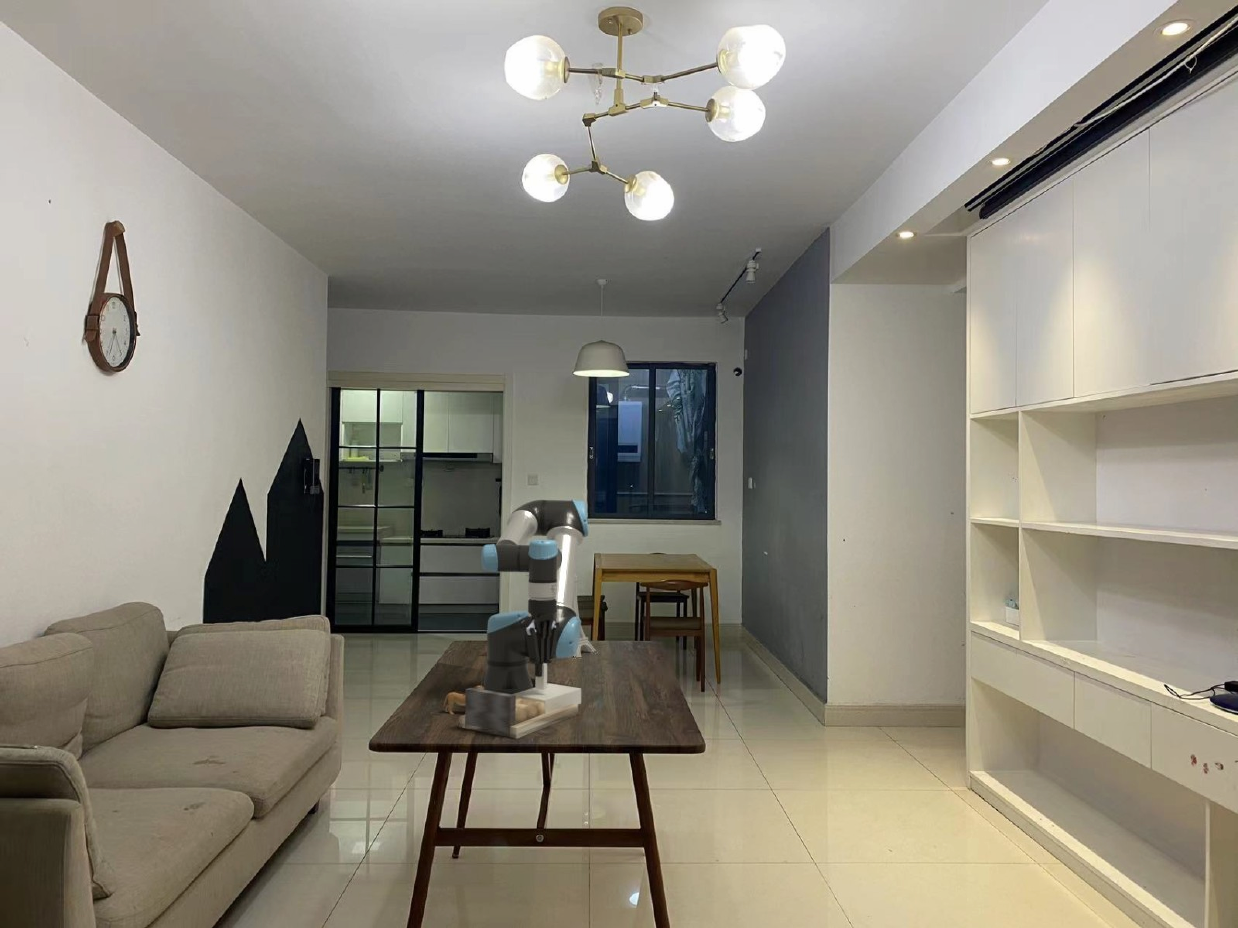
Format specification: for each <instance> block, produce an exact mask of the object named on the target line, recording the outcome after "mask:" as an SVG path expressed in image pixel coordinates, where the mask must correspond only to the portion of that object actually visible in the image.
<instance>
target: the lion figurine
mask: <svg viewBox="0 0 1238 928" xmlns="http://www.w3.org/2000/svg"><path fill="white" fill-rule="evenodd" d="M473 688H475V689H481V690H484V688H483V687H482V686H481V685H475V686H474V687H473ZM465 693H466V692H464V693H457V692H456V691H453V692H449V693H447V695H446V696H445V700H444V702H443V704H442V705H443V706H442V708H441V709H439V711H438V713H441V712H443V711H444V712H449V715H455V713H454V712H453V711H452V708H453V706H454V704H455V703H456V704H457V705H458V706H461V707H462V706H464V707H465ZM447 701H448V702H447Z"/></svg>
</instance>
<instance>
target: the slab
mask: <svg viewBox="0 0 1238 928" xmlns="http://www.w3.org/2000/svg"><path fill="white" fill-rule="evenodd" d="M512 695H516V698H520V699H526V700H532V701H537V702H542V703H544V705H545V713H544V714H546V713H549V712H552V711H554V710H557V709H560V708H562V707H565V706H568V705H571V704H575V705H578V706H579V705H581V704H582V687H580V688H579V687H575V686H574V687H573V686H568V685H561V684H556V683H549V682H547V689H544V690H543V689H536V688H535V687H533V688H532V689H528V690H525V691H522V692H519V693H515V694H512Z"/></svg>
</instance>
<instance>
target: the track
mask: <svg viewBox="0 0 1238 928" xmlns="http://www.w3.org/2000/svg"><path fill="white" fill-rule="evenodd" d="M464 693H465V706H464V710H465V711H464V715H460V716H458V728H461V727H462V729H466V730H471V729H472V731H475V732H481V733H487V734H491V735H496V736H501V737H507V738H511V739H519V738H522V737H524V736H527V735H529V734H532V733H534V732H537V731H540V730H543V729H545V728H548V727H550V726H552V725H556V724H558V723H560V722H563V721H565V720H568V719H570V718H573V717H576V716H578V715H579V704H578V705H575V704H571V705H568V706H565V707H562V708H560V709H557V710H554V711H552V712H549V713H546V714H543V715H541V716H538V717H535V718H532V719H530V720H527V721H524V722H522V723H519V724H516V725H515V711H516V695H511V694H505V693H499V692H493V691H487V690H481V689H475V688H474V687H468V688H465V692H464Z"/></svg>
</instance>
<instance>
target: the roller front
mask: <svg viewBox="0 0 1238 928" xmlns="http://www.w3.org/2000/svg"><path fill="white" fill-rule="evenodd" d="M526 720H527V713H526V711H525V710H521V709H516V711H515V725H516V724H519V723H522V722H524V721H526Z"/></svg>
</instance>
